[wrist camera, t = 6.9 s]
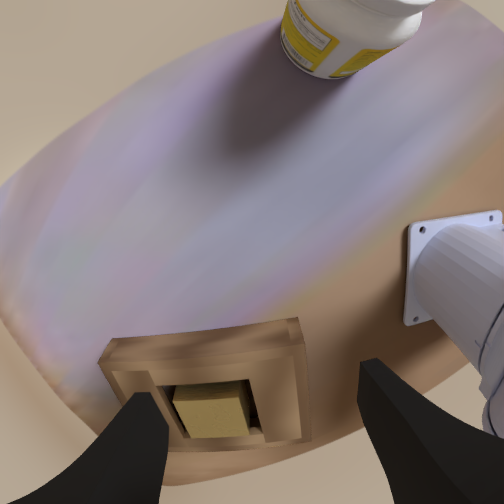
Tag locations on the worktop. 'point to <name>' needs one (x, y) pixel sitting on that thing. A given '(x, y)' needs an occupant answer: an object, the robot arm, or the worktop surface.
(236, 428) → the wooden block
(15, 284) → the worktop surface
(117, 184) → the worktop surface
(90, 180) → the worktop surface
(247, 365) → the brown wooden frame
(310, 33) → the supplement bottle
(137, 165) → the worktop surface
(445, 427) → the robot arm
